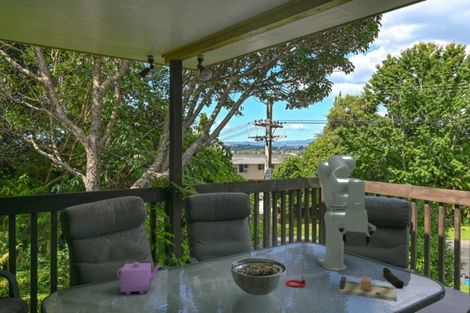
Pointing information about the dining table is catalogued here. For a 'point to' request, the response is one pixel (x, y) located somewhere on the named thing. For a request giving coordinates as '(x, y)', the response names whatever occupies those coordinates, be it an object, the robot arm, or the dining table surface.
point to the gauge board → (375, 291)
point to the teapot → (136, 277)
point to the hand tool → (392, 278)
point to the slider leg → (366, 283)
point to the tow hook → (302, 282)
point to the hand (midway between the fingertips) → (355, 243)
